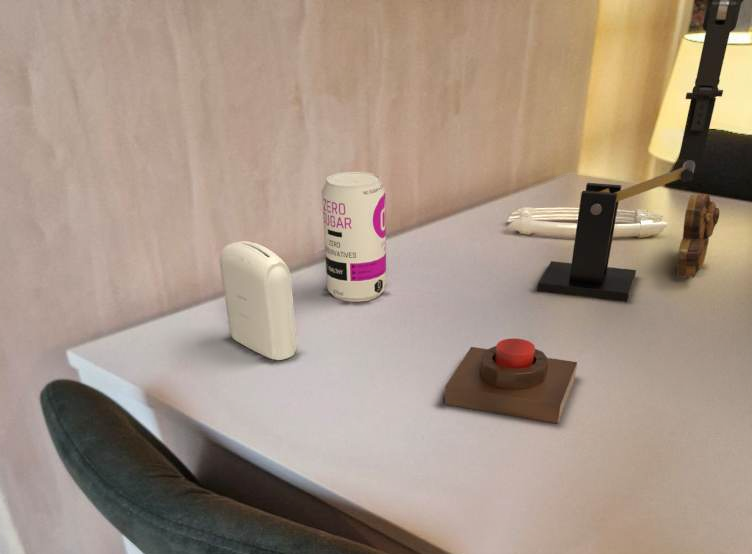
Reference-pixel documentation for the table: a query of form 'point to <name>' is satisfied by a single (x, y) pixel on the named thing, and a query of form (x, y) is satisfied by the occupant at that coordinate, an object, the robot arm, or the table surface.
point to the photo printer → (259, 299)
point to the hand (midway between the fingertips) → (690, 157)
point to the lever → (657, 181)
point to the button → (514, 353)
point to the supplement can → (355, 235)
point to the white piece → (527, 216)
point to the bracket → (591, 252)
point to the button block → (511, 385)
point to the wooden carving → (696, 234)
